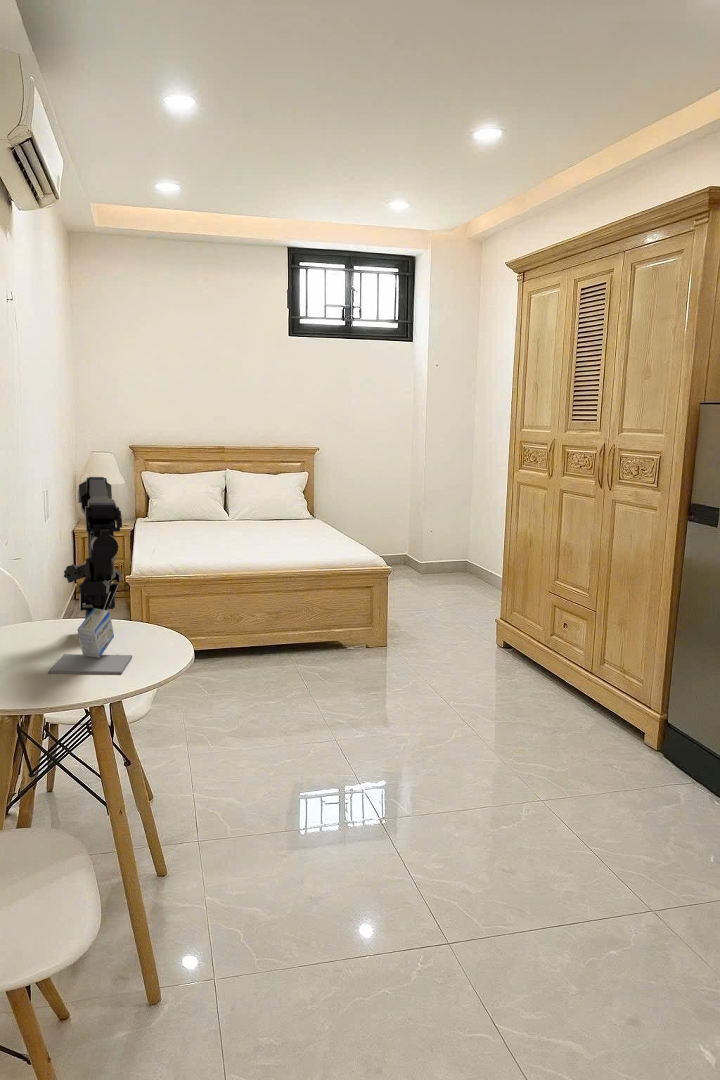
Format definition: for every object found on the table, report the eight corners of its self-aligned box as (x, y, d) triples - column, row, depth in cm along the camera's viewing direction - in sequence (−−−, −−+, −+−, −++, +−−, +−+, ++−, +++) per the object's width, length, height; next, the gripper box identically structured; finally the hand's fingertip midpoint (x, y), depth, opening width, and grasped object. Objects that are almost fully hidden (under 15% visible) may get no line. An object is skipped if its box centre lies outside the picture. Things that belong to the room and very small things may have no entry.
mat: (64, 656, 188) (64, 654, 188) (132, 657, 190) (132, 655, 190) (48, 673, 175) (48, 670, 175) (121, 674, 177) (121, 671, 177)
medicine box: (99, 659, 186) (94, 632, 181) (82, 655, 186) (76, 628, 181) (114, 636, 192) (110, 610, 187) (97, 633, 193) (92, 606, 188)
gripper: (77, 546, 199) (77, 606, 201) (56, 557, 181) (56, 623, 183) (122, 548, 200) (121, 607, 202) (106, 559, 182) (105, 625, 184)
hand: (101, 615), depth 193 cm, fingers open, 6 cm apart
